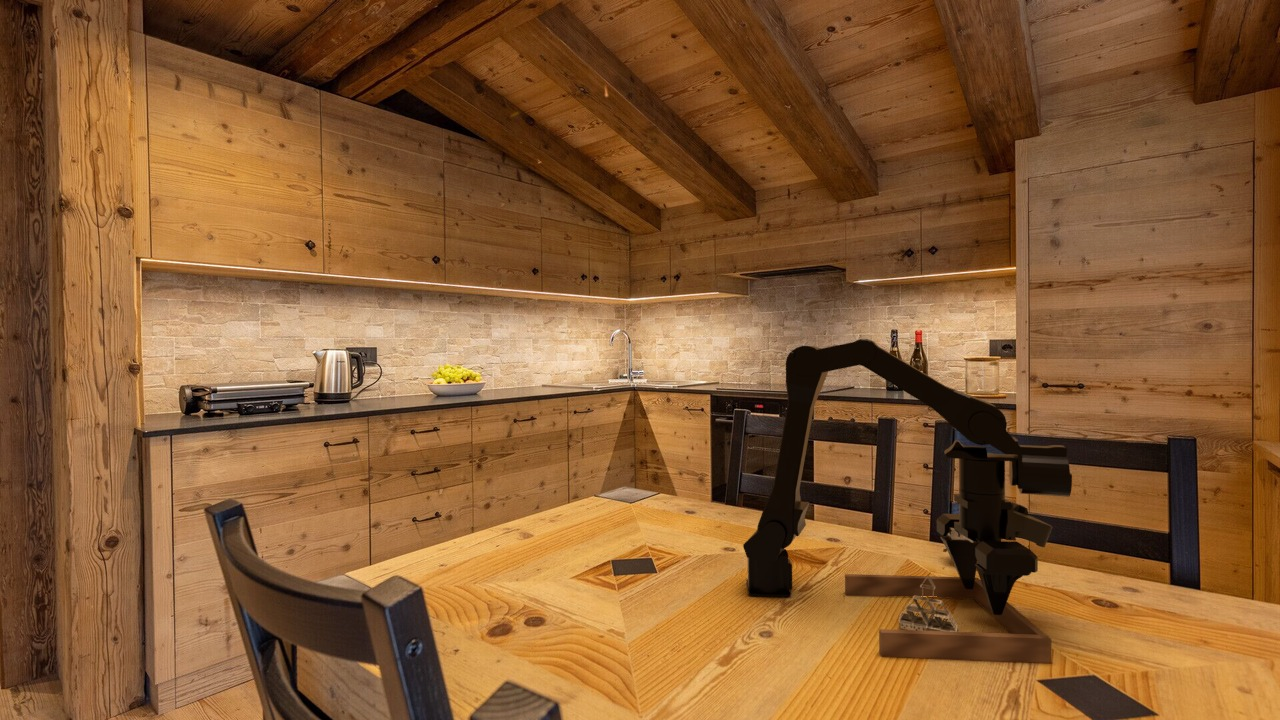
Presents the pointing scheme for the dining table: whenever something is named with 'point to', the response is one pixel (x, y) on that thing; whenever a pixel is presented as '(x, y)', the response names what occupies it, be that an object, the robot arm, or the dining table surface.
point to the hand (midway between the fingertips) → (982, 600)
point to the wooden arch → (1013, 647)
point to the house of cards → (924, 622)
